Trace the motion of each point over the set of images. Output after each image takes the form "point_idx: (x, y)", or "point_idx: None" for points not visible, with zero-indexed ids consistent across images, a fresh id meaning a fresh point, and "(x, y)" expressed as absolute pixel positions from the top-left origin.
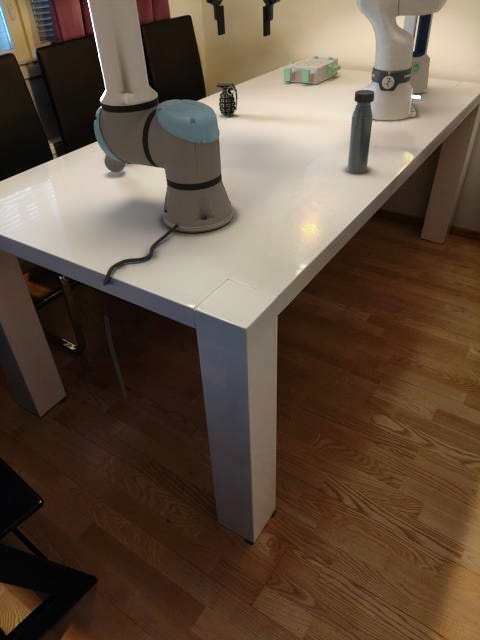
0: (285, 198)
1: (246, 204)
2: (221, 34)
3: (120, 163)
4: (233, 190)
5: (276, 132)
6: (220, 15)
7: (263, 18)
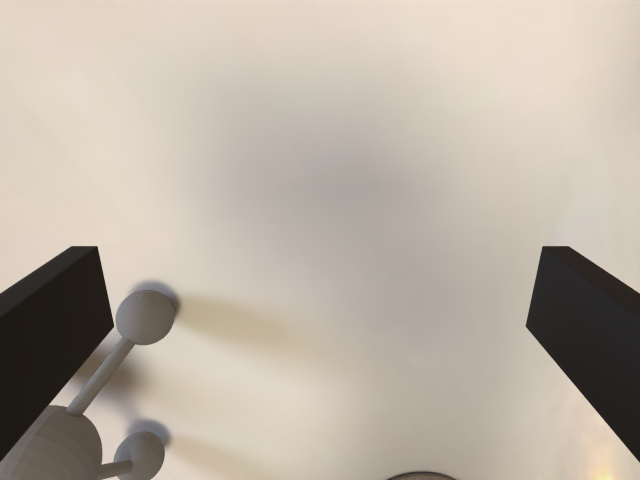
0: (540, 418)
1: (476, 457)
2: (110, 312)
3: (162, 463)
4: (429, 421)
5: (371, 12)
6: (7, 419)
7: (616, 427)
